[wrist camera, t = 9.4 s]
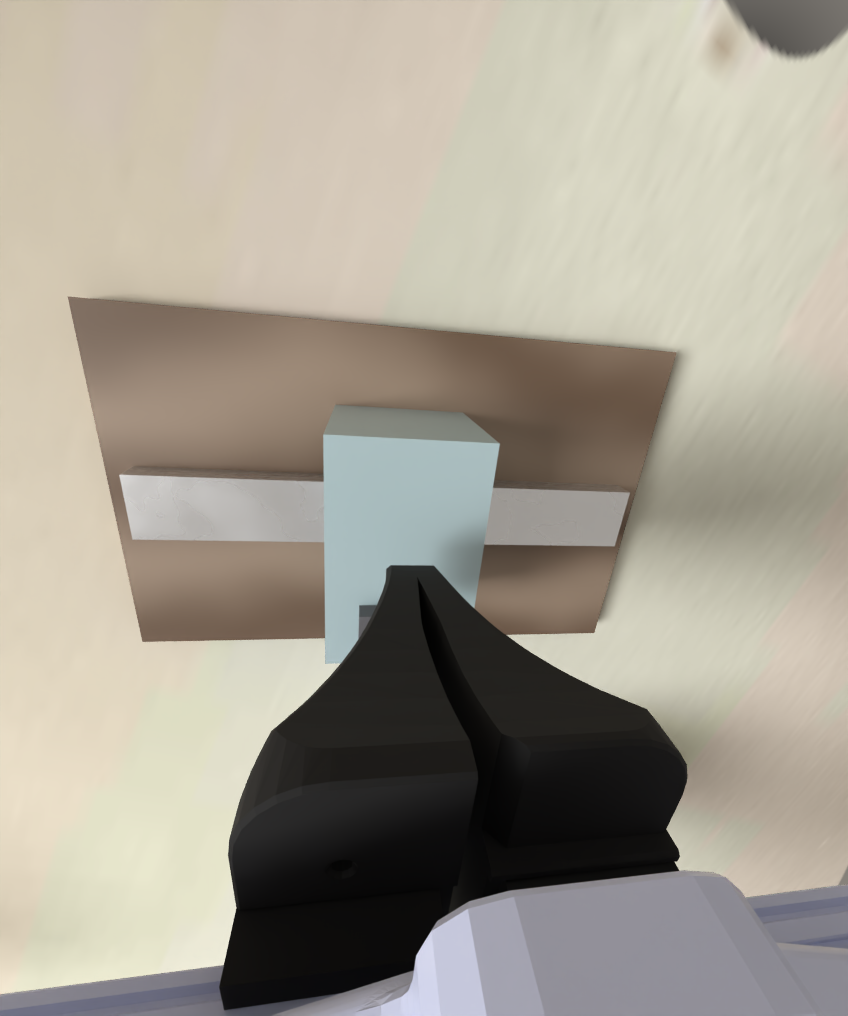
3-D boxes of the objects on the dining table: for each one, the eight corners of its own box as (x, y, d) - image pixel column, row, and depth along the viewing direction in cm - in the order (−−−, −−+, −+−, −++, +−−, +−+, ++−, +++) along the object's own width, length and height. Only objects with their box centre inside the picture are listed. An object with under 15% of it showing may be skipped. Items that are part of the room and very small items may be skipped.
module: (443, 583, 20) (470, 671, 15) (335, 583, 19) (323, 676, 14) (463, 412, 17) (505, 448, 12) (335, 404, 16) (320, 439, 11)
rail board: (585, 620, 23) (604, 645, 21) (152, 627, 20) (131, 657, 18) (660, 351, 18) (694, 353, 16) (86, 298, 14) (46, 294, 13)
